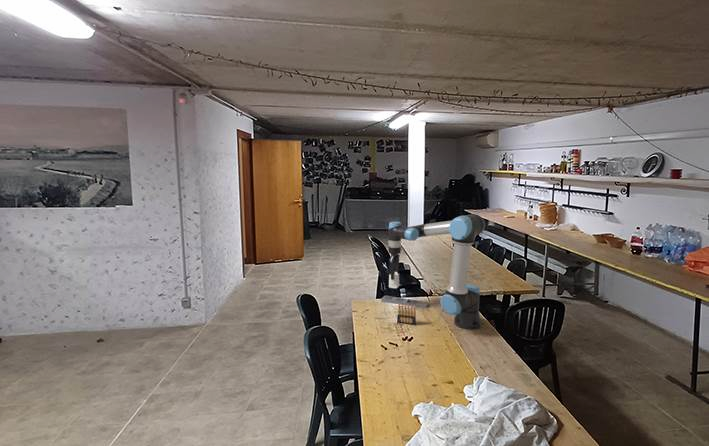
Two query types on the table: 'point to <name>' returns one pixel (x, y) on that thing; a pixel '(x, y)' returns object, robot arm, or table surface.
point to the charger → (395, 281)
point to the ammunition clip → (406, 315)
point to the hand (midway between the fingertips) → (394, 283)
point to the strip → (405, 301)
